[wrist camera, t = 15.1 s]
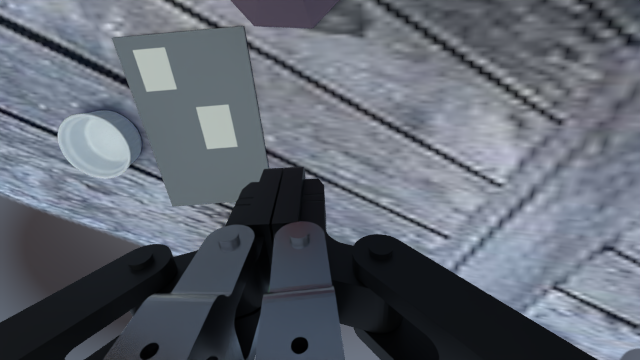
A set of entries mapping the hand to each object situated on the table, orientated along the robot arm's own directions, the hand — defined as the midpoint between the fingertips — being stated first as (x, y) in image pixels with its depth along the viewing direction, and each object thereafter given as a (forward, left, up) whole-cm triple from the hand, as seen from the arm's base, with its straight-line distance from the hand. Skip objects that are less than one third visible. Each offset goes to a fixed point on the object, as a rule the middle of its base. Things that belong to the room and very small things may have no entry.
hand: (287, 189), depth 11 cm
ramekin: (+6, -28, -31) cm, 42 cm away
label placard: (+6, -15, -30) cm, 34 cm away
